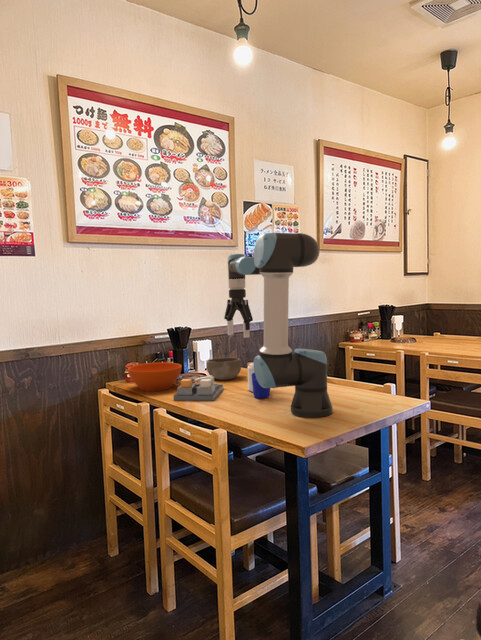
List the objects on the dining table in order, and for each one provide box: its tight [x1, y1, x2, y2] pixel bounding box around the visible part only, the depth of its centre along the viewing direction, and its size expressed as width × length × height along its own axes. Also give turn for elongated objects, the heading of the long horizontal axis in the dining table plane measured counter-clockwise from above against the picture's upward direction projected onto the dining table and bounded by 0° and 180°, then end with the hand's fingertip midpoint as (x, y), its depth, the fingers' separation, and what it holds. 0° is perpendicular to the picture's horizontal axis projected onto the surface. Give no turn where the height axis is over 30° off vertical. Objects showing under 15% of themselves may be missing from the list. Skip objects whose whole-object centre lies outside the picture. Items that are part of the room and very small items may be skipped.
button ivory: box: [199, 379, 211, 388], centre depth 194 cm, size 4×4×4 cm
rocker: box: [193, 375, 212, 383], centre depth 209 cm, size 3×8×1 cm, turn 81°
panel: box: [172, 383, 224, 402], centre depth 201 cm, size 22×17×5 cm
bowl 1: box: [127, 362, 183, 392], centre depth 218 cm, size 25×25×10 cm
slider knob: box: [205, 376, 215, 385], centre depth 202 cm, size 4×3×5 cm
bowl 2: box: [206, 356, 242, 381], centre depth 235 cm, size 17×18×10 cm
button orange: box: [180, 378, 193, 388], centre depth 195 cm, size 4×4×4 cm
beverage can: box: [247, 362, 255, 393], centre depth 205 cm, size 8×8×12 cm
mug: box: [252, 373, 271, 400], centre depth 191 cm, size 8×12×10 cm
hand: (238, 336), depth 207 cm, fingers open, 13 cm apart
